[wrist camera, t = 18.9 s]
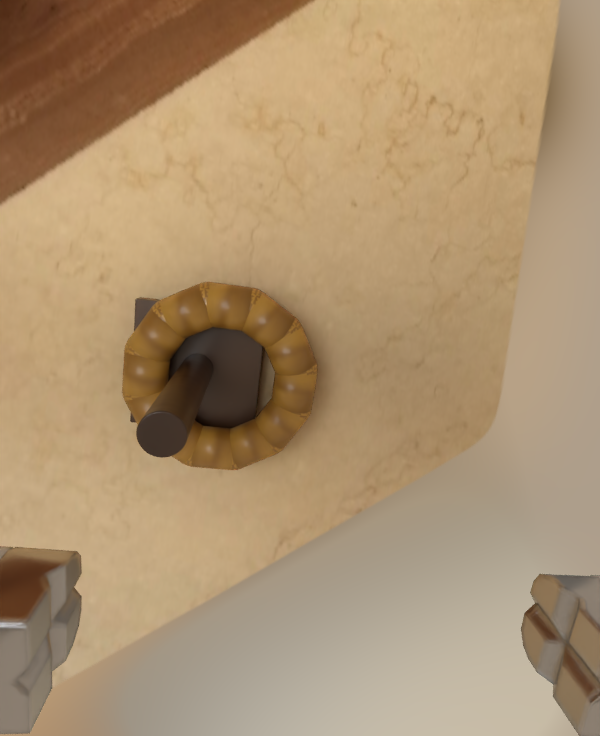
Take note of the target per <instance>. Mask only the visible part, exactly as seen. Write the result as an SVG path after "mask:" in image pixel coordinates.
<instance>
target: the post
mask: <svg viewBox="0 0 600 736" xmlns="http://www.w3.org/2000/svg"><path fill="white" fill-rule="evenodd" d="M158 301H159V300H158V299H150V298H141V297H140V298H137V299H136V303H135V326H134V331H135V330H136V328H137V327H138V326H139V324H140V323H141V321H142V320H143V319H144V317H145V316H146V314H147V313H148V312H149V310H150V309H151V307H152V306H153V305H154V304H155V303H156V302H158ZM262 353H263V346H261V345H260V344H259V343H257V342H256V341H255V340H253V339H252V338H251V337H249V336H248V335H247V334H245V333H244V332H242V331H239V330H231V329H223V328H215V327H212V328H209V329H207V330H204V331H202V332H200V333H197V334H195V335H192V336H190V337H188V338H186V339H185V340H184V342H183V343H182V344H181V346H180V347H179V348H178V350H177V351H176V352H175V354H174V355H173V357H172V358H171V359H170V366H169V379H168V383H167V384H166V386H165V387H164V389H163V390H162V391H161V393H160V394H159V396H158V397H157V398H156V400H155V401H154V403H153V404H152V405H151V407H150V408H149V410H148V411H147V412H146V414H145V415H144V416H143V418H142V419H141V421H140V422H139V424H138V427H137V439H138V442H139V444H140V446H141V447H142V448H143V449H144V450H145V451H146V452H147V453H149V454H151V455H153V456H156V457H169V456H173V455H175V454H177V453H178V452H180V451H181V450H182V449H183V447H184V446H185V444H186V442H187V439H188V437H189V434H190V431H191V429H192V426H193V424H194V421H197V422H198V423H200V424H201V425H203V426H211V427H221V428H233V427H236V426H238V425H241V424H243V423H245V422H248V421H250V420H253V419H255V417H256V407H257V398H258V389H259V380H260V371H261V362H262ZM130 421H131V422H136V421H135V419H134V417H133V415H132V413H131V420H130ZM136 423H137V422H136Z"/></svg>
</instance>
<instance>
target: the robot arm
mask: <svg viewBox="0 0 600 736" xmlns="http://www.w3.org/2000/svg"><path fill="white" fill-rule="evenodd" d="M81 573H82V572H81V555H80V554H79V553H78V552H77V551H65V550H51V549H36V548H22V547H15V548H13V547H4V546H0V734H20V733H21V734H22V733H30V732H31V730H32V728H33V726H34V724H35V721H36V720H37V718H38V716H39V714H40V712H41V710H42V707H43V705H44V703H45V701H46V699H47V697H48V695H49V693H50V691H51V689H52V671H53V670H54V669H56V668H57V667H58V666H60V665H61V664H62V663H64V662H65V661H66V659H67V656H68V654H69V652H70V650H71V648H72V646H73V643H74V640H75V636H76V633H77V630H78V626H79V621H80V614H81V595H80V594H79V593H78V592H77V590H76V589H75V588H74V586H75V584H76V582H77V581H78V579H79V577H80V575H81ZM530 593H531V595H532V597H533V600H534V601H535V604H534V605H533V606H532V607H531V608H530V609H529V610H527V611H526V612H525V614H524V618H523V623H522V627H521V632H522V640H523V646H524V649H525V651H526V654H527V657H528V659H529V661H530V662H531V664H532V665H533V667H534V668H535V670H536V672H537V673H539V674H540V675H541V676H543V677H544V678H546V679H547V680H548V681H549V682H551V683H552V684H553V697H554V699H555V700H556V702H557V703H558V705H559V706H560V708H561V709H562V711H563V712H564V713H565V715H566V717H567V718H568V720H569V721H570V723H571V724H572V726H573V727H574V729H575V730H576V732H577V733H578V735H579V736H600V575H591V576H574V575H551V574H539V576H538V577H537V578H536V579H535V580H534V582H533V585H532V588H531V592H530Z"/></svg>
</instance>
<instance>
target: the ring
mask: <svg viewBox="0 0 600 736" xmlns="http://www.w3.org/2000/svg"><path fill="white" fill-rule="evenodd" d="M212 327H215V328H223V329H231V330H239V331H242V332H244V333H245V334H247V335H248V336H249V337H251V338H252V339H253V340H255V341H256V342H257V343H259V344H260V345H261V346H263V347H264V348H265V350H266V352H267V355H268V357H269V359H270V362H271V364H272V366H273V368H274V371H275V378H274V385H273V393H272V398H271V400H270V401H269V402H268V403H267V405H266V406H265V407H264V408H263V410H262V411H261V412H260V413H259V415H258V416H257V417H256V418H255V419H253V420H250V421H248V422H245V423H243V424H241V425H238V426H236V427H233V428H221V427H211V426H203V425H201V424H200V423H198V422H197V421H194V424H193V426H192V429H191V431H190V434H189V437H188V439H187V442H186V444H185V446H184V447H183V449H182V450H181V451H180V452H178V453H177V454H175V455H173V456H172V457H174V458H175V459H177V460H178V461H180V462H182V463H183V464H185V465H187V466H191V467H202V468H214V469H225V470H238V469H241V468H243V467H246V466H248V465H251V464H253V463H255V462H258V461H260V460H263V459H265V458H268V457H270V456H272V455H275V454H277V453H279V452H280V451H281V450H283V448H284V447H285V446H286V445H287V444H288V442H289V441H290V440H291V439H292V437H293V436H294V435H295V434H296V433H297V431H298V430H299V429H300V428H301V426H302V425H303V424H304V423H305V421H306V420H307V419H308V417H309V416H310V414H311V410H312V404H313V398H314V391H315V385H316V378H317V371H318V368H317V363H316V360H315V358H314V355H313V353H312V350H311V348H310V345H309V343H308V340H307V338H306V335H305V333H304V330H303V328H302V326H301V323H300V322H299V321H298V319H297V318H295V317H294V316H293V315H292V314H290V313H289V312H288V311H286V310H285V309H284V308H283V307H281V306H280V305H279V304H277V303H276V302H275V301H274V300H272V299H271V298H270V297H268V296H267V295H266V294H265V293H263V292H262V291H260V290H258V289H255V288H250V287H242V286H235V285H228V284H221V283H213V282H203V283H200V284H197V285H195V286H193V287H190V288H188V289H185V290H183V291H181V292H178V293H176V294H173V295H171V296H169V297H166V298H164V299H161V300H159V301H158V302H156V303H155V304H154V305H153V306H152V307H151V309H150V310H149V312H148V313H147V314H146V316H145V317H144V319H143V320H142V321H141V323H140V324H139V326H138V327H137V328H136V330H135V331H134V333H133V334H132V335H131V337H130V338H129V339H128V341H127V343H126V345H125V351H124V368H123V387H122V393H123V398H124V400H125V402H126V404H127V406H128V408H129V410H130V411H131V413H132V415H133V417H134V419H135V421H136V422H137V424H139V422H140V421H141V419H142V418H143V416H144V415H145V414H146V412H147V411H148V410H149V408H150V407H151V405H152V404H153V403H154V401H155V400H156V398H157V397H158V396H159V394H160V393H161V391H162V390H163V389H164V387H165V386H166V384H167V383H168V379H169V366H170V359H171V358H172V357H173V355H174V354H175V352H176V351H177V350H178V348H179V347H180V346H181V344H182V343H183V342H184V340H185V339H186V338H188V337H190V336H192V335H195V334H197V333H200V332H202V331H204V330H207V329H209V328H212Z"/></svg>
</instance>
